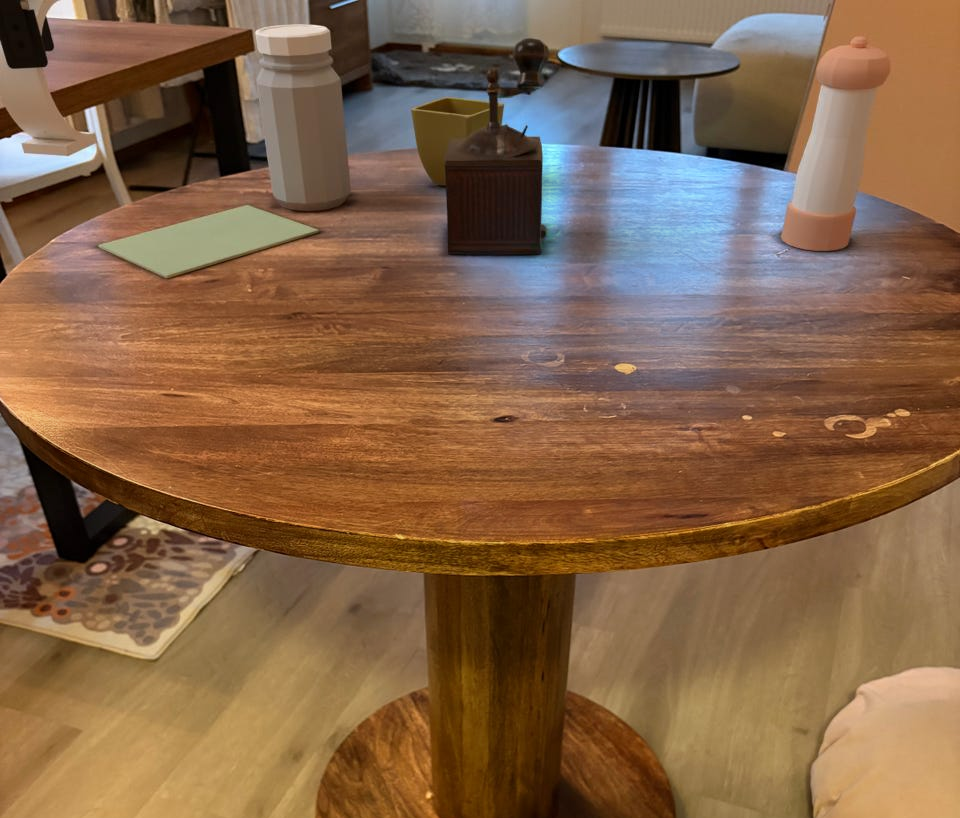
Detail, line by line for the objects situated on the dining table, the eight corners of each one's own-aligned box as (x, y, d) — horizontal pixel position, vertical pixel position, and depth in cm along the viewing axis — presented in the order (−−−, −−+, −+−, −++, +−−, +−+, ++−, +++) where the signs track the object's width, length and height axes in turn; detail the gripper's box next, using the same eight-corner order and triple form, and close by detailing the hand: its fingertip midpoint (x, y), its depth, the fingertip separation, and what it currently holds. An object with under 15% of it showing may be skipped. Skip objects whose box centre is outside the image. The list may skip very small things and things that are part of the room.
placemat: (166, 278, 94) (166, 275, 94) (98, 247, 102) (98, 244, 101) (319, 232, 105) (318, 229, 105) (247, 207, 112) (247, 204, 112)
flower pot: (448, 170, 124) (446, 95, 118) (504, 179, 121) (505, 102, 115) (413, 187, 118) (409, 108, 112) (471, 196, 115) (470, 116, 109)
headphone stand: (98, 142, 87) (59, -12, 79) (61, 159, 82) (16, -3, 74) (55, 139, 88) (12, -14, 80) (16, 156, 83) (-33, -5, 75)
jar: (290, 218, 109) (265, 39, 97) (262, 197, 115) (236, 27, 104) (364, 205, 113) (350, 31, 101) (333, 185, 119) (316, 20, 107)
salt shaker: (792, 226, 106) (833, 29, 93) (856, 236, 103) (907, 34, 90) (772, 244, 101) (812, 39, 89) (838, 255, 98) (889, 45, 86)
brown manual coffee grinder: (547, 255, 99) (555, 61, 87) (445, 255, 99) (439, 61, 87) (543, 211, 111) (550, 34, 99) (452, 211, 111) (448, 35, 99)
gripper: (-80, -213, 74) (-2, 45, 86) (-123, -223, 61) (-26, 80, 73) (19, -212, 76) (82, 41, 87) (-4, -223, 63) (73, 75, 75)
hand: (32, 57), depth 80 cm, fingers closed on headphone stand, 7 cm apart
